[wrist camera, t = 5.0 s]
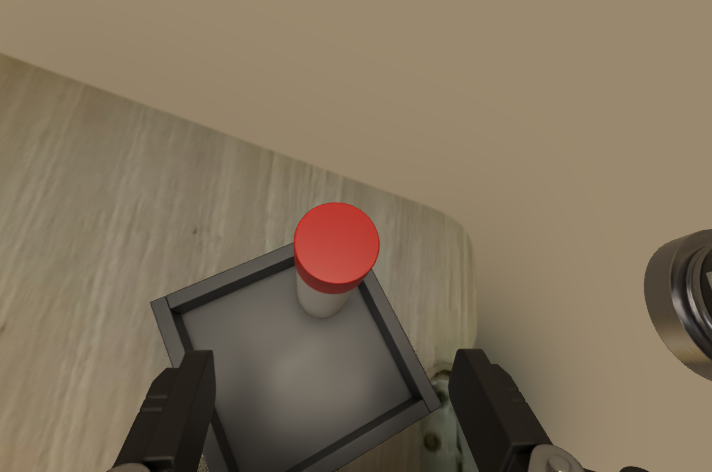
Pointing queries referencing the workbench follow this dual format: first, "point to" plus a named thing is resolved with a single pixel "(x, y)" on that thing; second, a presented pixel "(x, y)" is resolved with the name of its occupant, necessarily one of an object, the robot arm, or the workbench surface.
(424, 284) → the workbench surface
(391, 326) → the tray
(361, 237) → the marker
